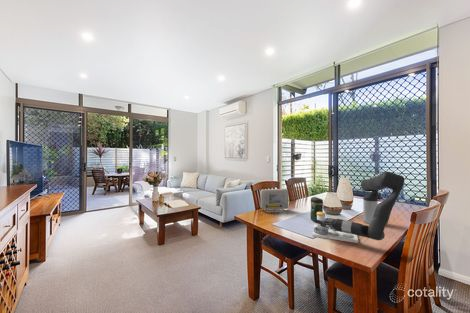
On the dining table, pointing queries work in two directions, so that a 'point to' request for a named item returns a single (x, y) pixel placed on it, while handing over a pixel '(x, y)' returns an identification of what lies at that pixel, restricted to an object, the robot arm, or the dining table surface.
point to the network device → (274, 199)
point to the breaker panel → (334, 234)
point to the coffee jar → (316, 207)
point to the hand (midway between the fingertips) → (317, 220)
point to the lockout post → (321, 217)
